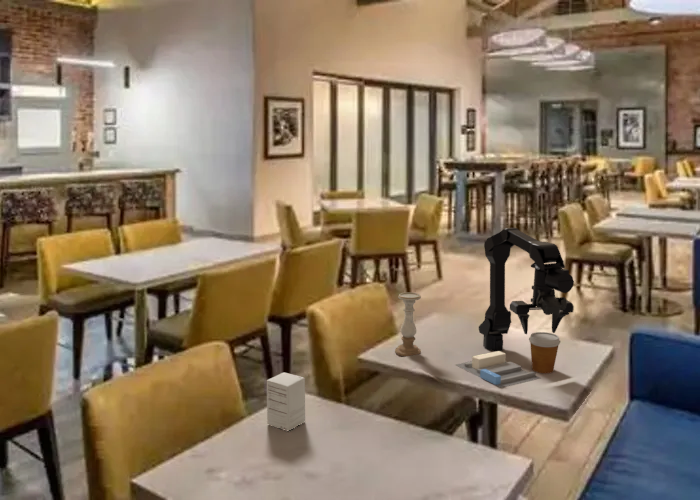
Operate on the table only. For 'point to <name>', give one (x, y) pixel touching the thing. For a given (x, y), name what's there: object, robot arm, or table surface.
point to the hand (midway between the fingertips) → (539, 333)
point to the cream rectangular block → (488, 359)
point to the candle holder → (408, 326)
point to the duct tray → (501, 373)
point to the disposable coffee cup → (543, 351)
